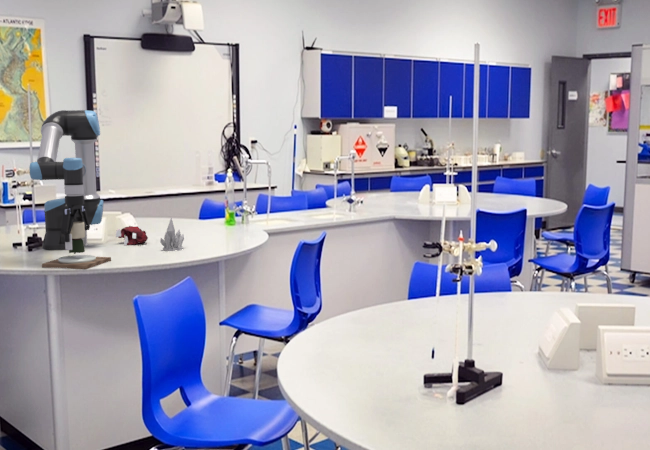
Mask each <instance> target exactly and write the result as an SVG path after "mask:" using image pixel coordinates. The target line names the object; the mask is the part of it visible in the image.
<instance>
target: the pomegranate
mask: <svg viewBox="0 0 650 450" xmlns="http://www.w3.org/2000/svg"><path fill="white" fill-rule="evenodd" d="M115 238H118V239H123V240H124V241H123V245H124V246H127V245H128V246H133V245H138V244H141V245H143V244H145V243H146V242H147V240H148V239H149V237H148V235H147V231H146V230H142V229H141V228H139V226H133V225H132V226H131V225H129V226H125V227H123V228H121V229H120V228H117V230H116V232H115Z"/></svg>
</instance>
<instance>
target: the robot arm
mask: <svg viewBox="0 0 650 450" xmlns="http://www.w3.org/2000/svg"><path fill="white" fill-rule="evenodd" d="M40 134H41V140H40V144H39V149H38V155H37V159H36V161H34V162H33V161H32V162H30V163H29V167H28V168H29V176H30V178H31V180H37V181H38V180H39V181H47V180H48V181H50V180H52V181H53V180H61V181H62V180H63V181H64V182H63V183H64V185H63V186H64V188H63V189H64V197H63V198H55V199H50V200H47V201H45V202H44V223H45V224H44V226H45V227H44V228H45V233H44V237H43V241H42V243H41V244H42V245H41V246H42V249H43V250H49V251H50V250H51V251H52V250H53V251H59V250H65V251H69V250H72V234H70V233H71V229H72V226H73V222H84V225H85V237H84V238H82V240H83V243H84V247H87V246H88V231H89V230H90V229H91V226H95V225H99V224H101V223H102V219H103V216H104V215H103V214H104V200H103V199H101V196H100V195H99V194H98V193H97V177H96V176H97V173H96V158H95V156H96V155H95V143H96V142H97V140H98V137H99V136H100V135H101V129H100V122H99V117H98V114H97V112H96V111H94V110H87V109H85V110H84V109H82V110H81V109H80V110H73V109H72V110H65V109H64V110H58V111H55V112H53V113H52V114H50V115H49V116H48V117H46V119H45V120H44V121H43V123H42V124H41V129H40ZM64 136H68V137H70V139H71V141H72V142H73V143H74V150H75V152H74V154H75V157H65V158H63V160H62V161H57V157H58V152H59V146H60V139H62V138H63V137H64Z"/></svg>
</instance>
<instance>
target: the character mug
mask: <svg viewBox="0 0 650 450" xmlns="http://www.w3.org/2000/svg"><path fill="white" fill-rule="evenodd" d="M70 234H72V250H68V254H71V253H73V255H77V253H78V254H82V253H85V251H86V249H85V246H84V243H83V240H82V238H84V237H85V225H84V222H73V226H72V229H71V233H70Z"/></svg>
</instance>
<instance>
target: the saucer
mask: <svg viewBox="0 0 650 450" xmlns="http://www.w3.org/2000/svg"><path fill="white" fill-rule="evenodd" d="M96 257H97V256H95V255H91V254H89V255H88V254H73V255H65V256H62V257H59V258H57V259H58V262H60V263H67V264H76V263H87V262H92V261H95V260H96Z"/></svg>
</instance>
